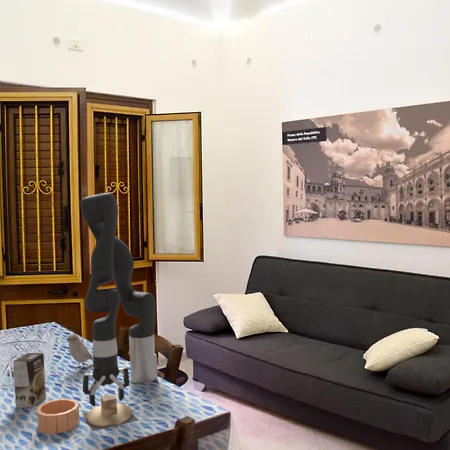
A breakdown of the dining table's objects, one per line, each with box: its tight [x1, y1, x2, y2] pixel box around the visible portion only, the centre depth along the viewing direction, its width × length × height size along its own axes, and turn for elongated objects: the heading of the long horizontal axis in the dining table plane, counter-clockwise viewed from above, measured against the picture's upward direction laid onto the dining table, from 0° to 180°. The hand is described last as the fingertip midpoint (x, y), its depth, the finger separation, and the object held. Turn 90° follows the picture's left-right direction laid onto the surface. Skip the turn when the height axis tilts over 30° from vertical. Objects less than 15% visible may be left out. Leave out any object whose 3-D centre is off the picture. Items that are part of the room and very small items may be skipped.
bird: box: [65, 333, 93, 370], centre depth 214 cm, size 5×14×15 cm, turn 148°
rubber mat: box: [81, 403, 138, 432], centre depth 168 cm, size 14×14×1 cm
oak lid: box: [86, 393, 133, 428], centre depth 168 cm, size 14×14×6 cm
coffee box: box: [12, 352, 47, 409], centre depth 181 cm, size 9×6×16 cm
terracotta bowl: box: [36, 398, 81, 434], centre depth 164 cm, size 12×12×6 cm
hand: (107, 402), depth 168 cm, fingers open, 8 cm apart
